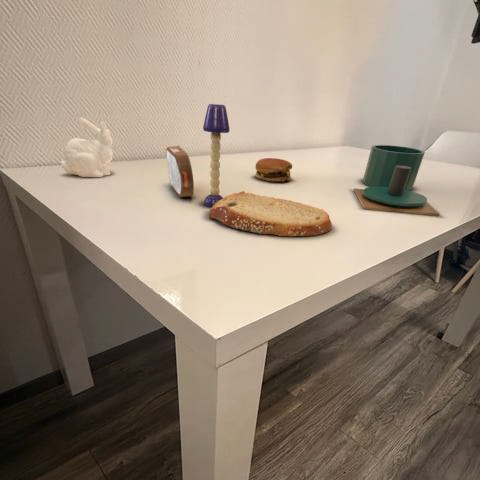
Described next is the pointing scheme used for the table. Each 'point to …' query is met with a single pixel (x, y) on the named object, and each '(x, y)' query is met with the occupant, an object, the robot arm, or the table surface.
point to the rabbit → (89, 152)
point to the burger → (273, 169)
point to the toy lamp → (215, 147)
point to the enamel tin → (391, 164)
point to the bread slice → (270, 215)
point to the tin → (180, 171)
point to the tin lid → (396, 191)
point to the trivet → (376, 205)
